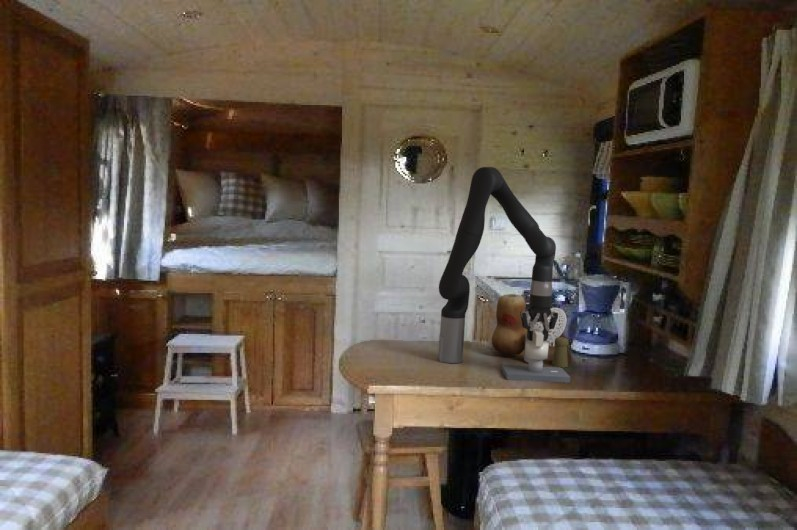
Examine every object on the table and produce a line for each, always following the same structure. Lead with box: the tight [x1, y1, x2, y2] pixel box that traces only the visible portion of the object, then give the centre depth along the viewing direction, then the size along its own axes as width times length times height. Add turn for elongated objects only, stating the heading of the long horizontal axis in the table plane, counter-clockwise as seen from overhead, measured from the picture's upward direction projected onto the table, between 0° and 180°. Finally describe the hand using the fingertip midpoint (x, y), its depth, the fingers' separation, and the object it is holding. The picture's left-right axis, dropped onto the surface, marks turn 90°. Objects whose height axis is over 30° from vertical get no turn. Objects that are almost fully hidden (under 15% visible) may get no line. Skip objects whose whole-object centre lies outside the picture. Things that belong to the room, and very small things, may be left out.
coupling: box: [524, 329, 550, 361], centre depth 219 cm, size 11×8×9 cm
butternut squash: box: [491, 293, 527, 357], centre depth 245 cm, size 14×13×25 cm
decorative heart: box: [527, 307, 568, 347], centre depth 265 cm, size 18×11×17 cm, turn 98°
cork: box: [551, 336, 570, 369], centre depth 235 cm, size 6×6×11 cm
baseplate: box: [501, 358, 571, 384], centre depth 219 cm, size 22×12×7 cm, turn 90°
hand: (537, 340), depth 218 cm, fingers open, 4 cm apart
